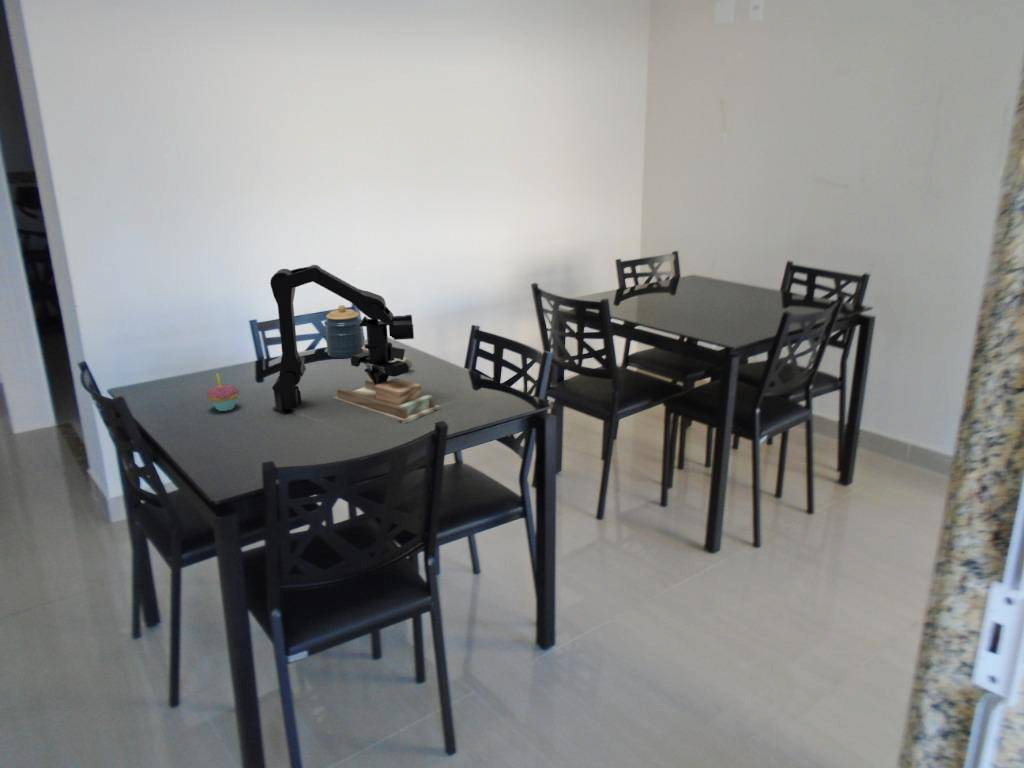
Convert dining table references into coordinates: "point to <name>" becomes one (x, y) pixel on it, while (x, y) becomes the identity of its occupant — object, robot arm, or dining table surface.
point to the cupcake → (223, 396)
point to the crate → (397, 391)
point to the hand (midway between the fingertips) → (381, 392)
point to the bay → (403, 412)
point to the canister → (343, 333)
